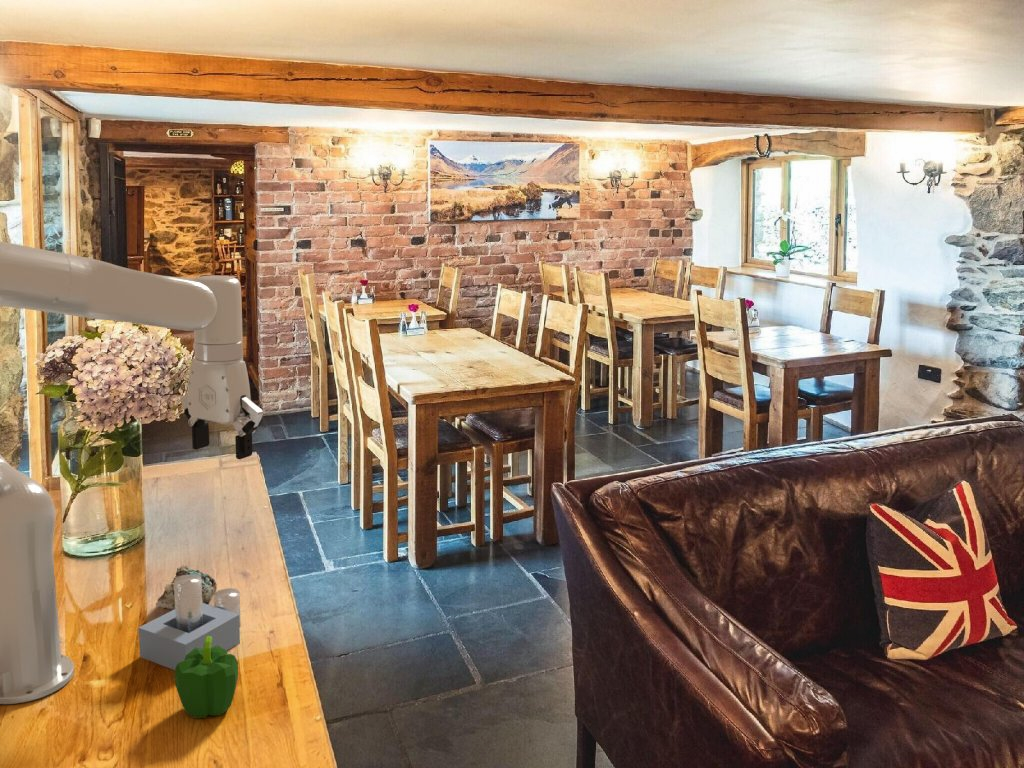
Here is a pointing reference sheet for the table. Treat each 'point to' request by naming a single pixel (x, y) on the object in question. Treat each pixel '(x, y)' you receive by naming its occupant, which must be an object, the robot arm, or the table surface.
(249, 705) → the table surface
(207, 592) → the mineral specimen
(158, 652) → the hole block
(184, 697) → the bell pepper
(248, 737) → the table surface
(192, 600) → the long pin
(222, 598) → the short pin
